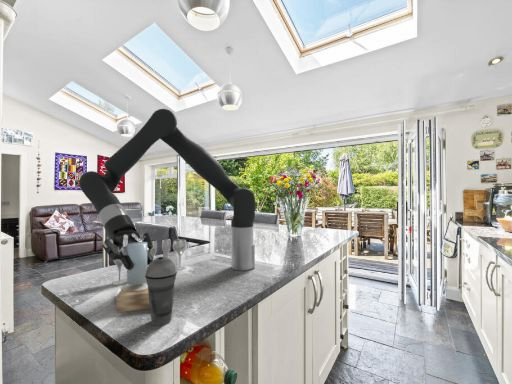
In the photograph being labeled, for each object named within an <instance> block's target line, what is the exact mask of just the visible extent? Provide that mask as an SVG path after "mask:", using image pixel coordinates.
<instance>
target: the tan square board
mask: <svg viewBox="0 0 512 384" xmlns="http://www.w3.org/2000/svg"><path fill="white" fill-rule="evenodd" d="M115 303H116V304H115V305H116V313H121V312H122V313H123V312H131V311H141V310H147V309H149V310H150V304H149V293H148V285H147V281H146V282H145V283H142V284H137V285H130V284H127V282H126V283H124V285H123V286H122V287H121V289H120V291H119V292H118V294H117V295H116V301H115Z"/></svg>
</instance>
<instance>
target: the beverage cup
mask: <svg viewBox="0 0 512 384" xmlns="http://www.w3.org/2000/svg"><path fill="white" fill-rule="evenodd" d="M164 239H165V245H164V252H163V254H162V256H159V257H157V258H154V259H153V261H152V262H151V263H150V264H149V265H147V270H146V275H145V277H146V281H147V285H148V293H149V304H150V309H149V313H150V314H149V315H150V319H151V325H153V326H157V327H161V326H165V325H167V324H170V323H171V322H172V314H173V308H174V307H173V305H174V292H175V283H176V278H177V275H178V274H177V270H176V268H177V267H176V265H175V263H174V261H173V260H172V259H170V258H169V257H168V258H166V257H165V255H166V246H167V239H168V238H164Z"/></svg>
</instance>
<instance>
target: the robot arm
mask: <svg viewBox="0 0 512 384" xmlns="http://www.w3.org/2000/svg"><path fill="white" fill-rule="evenodd" d="M177 125H178V120H177V117H176V115H175V113H174V112H173V111H171V109H167V108H159V109H157V110H155V111H154V112H153V113H152V114H151V116H150V117H149V118H148V120H147V121H146V122H145V123H144V125H143V126H142V127H141V128H140V129H139V130H138V132H137V133H136V134H135V135H134V136H133V137H131V138H130V140H128V141H127V142H126V143H125V144H124V145H122V146H121V147H120V148H119V149H118V150H117V151H116V152H115V153H114V154H112V155H111V156H110V157H109V158H108V159H107V160H106V161H105V162H104V164H103V166H104V168H105V170H106V172H105V174H104V175H102V174H101V173H99V172H97V171H94V170H93V171H92V170H90V171H86V172H84V173H83V174H82V175H81V176H80V177H79V184H78V185H79V188H80V190H81V191H82V193H83V194H84V196H85V197H86V198H87V199H88V200H89V202H90V203H91V204H92V205H93V207H94V209H95V211H96V213H97V215H98V217H99V219H100V222H101V225H102V226H103V228H104V230H105V232H106V234H107V235H108V237H109V238H106V239H104V241H103V243H102V244H101V246H102V247H101V248H103V250H104V251H105V252H106V253H107V255H108V256H109V258H111V260H112V261H113V260H116V259H119V260H121V261H122V263H123V265H122V266H123V267H124V268H125V269H126V270H127V269H128V270H132V268H133V267H134V264H133V263H132V261H131V259H130V257H129V255H127V244H128V243H133V242H147V266H149V264H150V263H151V262H152V261H153V260H154V259H153V257H152V256H151V254H150V252H149V251H150V250H151V249H152V247H153V245H152V242H151V240H152V239H151V237H150V235H149V233H148V232H144V234H141V233H139V232H138V231H137V230H136V225H135V223H134V221H133V220H132V219H131V217H130V215H129V213H128V212H127V211H126V208H124V207H123V204H122V203H121V201H120V199H118V197H117V195H116V194H114V191H115V190H116V189H117V187H118V185H119V183H120V182H121V180H122V178H123V176H124V175H126V174H127V173H128V172H129V171H130V170H131V169H132V168H133V167H134V166H135V165H136V164H137V163H138V162H139V161H140V159H141V158H143V156H144V155H145V154H146V153H147V151H148V150H149V149H150V148H151V147H152V146H153V145H154V144H155V143H156V142H157V141H159V140H161V141H162V142H164V143H165V144H166V145H167V146H169V147H170V148H172V149H173V151H175V152H176V153H177V155H178V156H180V158H181V159H182V160H183V161H185V163H186V164H187V165H188V166H189V167H190V168H191V169H192V170H193V171H195V173H196V174H198V175H199V176H200V177H201V178H202V179H204V180H205V182H207V183H209V185H210V186H212V187H213V188H214V189H216V190H217V191H218V192H219V193H220V194H221V195H222V197H223V198H225V200H226V201H227V202H228V204H230V206H231V207H232V208H233V217H232V218H231V221H230V230H231V231H230V232H231V233H230V234H231V235H230V237H231V238H230V240H231V241H230V243H231V246H230V248H231V249H230V251H231V253H230V254H231V257H230V258H231V262H230V263H231V269H232V270H234V271H235V270H236V271H248V270H252V269H255V268H256V267H255V266H256V265H255V264H256V261H255V260H256V259H255V258H256V256H255V255H256V254H255V253H256V252H255V251H256V249H255V247H256V246H255V244H254V221H255V218H256V217H255V216H256V196H255V194H254V192H253V191H252V190H251V189H249V188H247V187H240V186H239V185H238V184H237V183H235V181H233V180H232V179H231V178H230V177H229V176H228V174H227V172H226V171H225V169H224V168H223V166H222V164H221V163H220V162H219V161H218V160H217V159H216V157H214V156H213V154H211V153H210V151H208V150H207V149H205V148H204V147H203V146H201V145H200V144H198V143H196V142H195V141H193V140H191V139H190V138H189V137H187V135H185V134H184V133H183V132H182V130H181V129H179V127H178V126H177ZM117 248H118V250H117Z"/></svg>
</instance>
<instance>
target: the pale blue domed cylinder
mask: <svg viewBox="0 0 512 384" xmlns="http://www.w3.org/2000/svg"><path fill="white" fill-rule="evenodd" d="M127 255H129V257H130V259H131V261H132V263H133V264H134V267H133V268H132V270H128V269H126V281H127V284H130V285H137V284H142V283H145V282H146V277H145V275H146V270H147V267H148V265H147V242H133V243H128V244H127Z"/></svg>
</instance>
